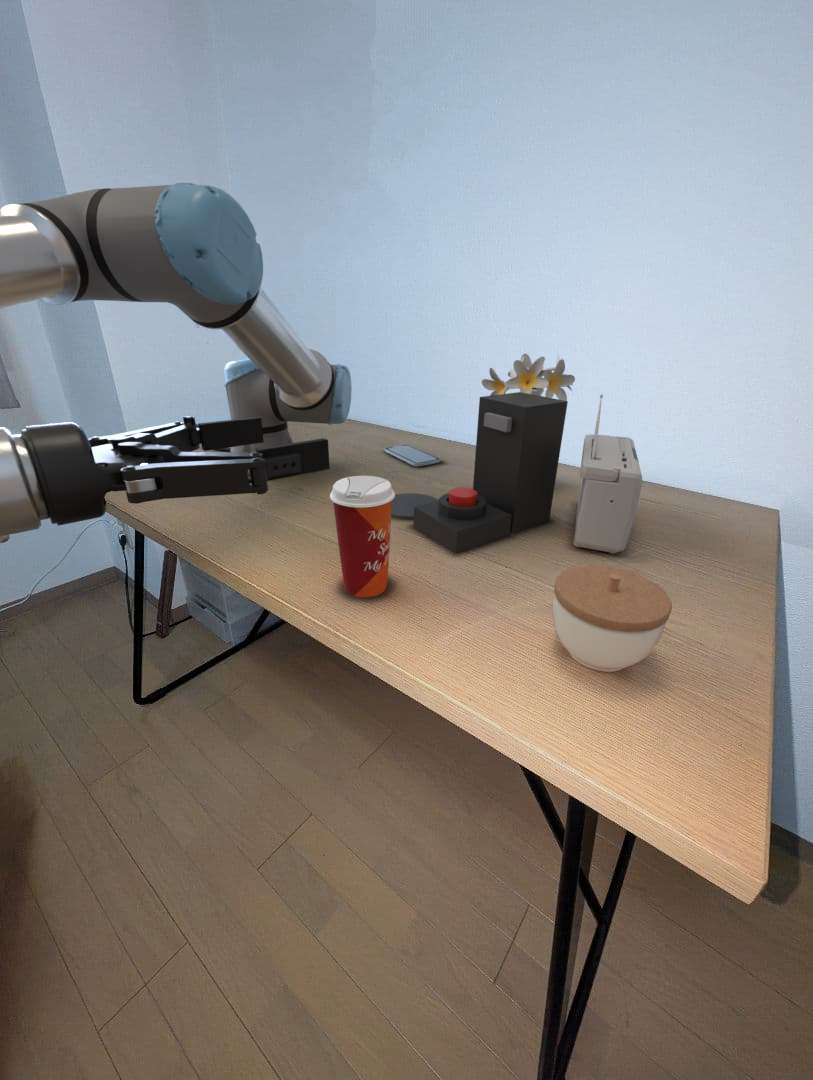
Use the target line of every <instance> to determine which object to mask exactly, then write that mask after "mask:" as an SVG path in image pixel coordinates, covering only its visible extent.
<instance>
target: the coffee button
mask: <svg viewBox="0 0 813 1080" xmlns="http://www.w3.org/2000/svg"><path fill="white" fill-rule="evenodd" d="M448 493H449V503H450V504H452V505H457V506H472V505H476V504H477V491H475V490H473V488H470V487H453V488H451V489H450V490H449V492H448Z"/></svg>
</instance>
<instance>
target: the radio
mask: <svg viewBox="0 0 813 1080" xmlns="http://www.w3.org/2000/svg"><path fill="white" fill-rule="evenodd" d="M599 398H600V400H599V405H598V411H597V416H596V421H595V429H594V434H591V433H589V434H585V436H584V439H583V445H582V453H581V463H580V469H579V473H580V474H579V475H580V478H581V484H580V490H579V496H578V501H577V509H576V510H577V511H576V519H575V528H574V536H573V546H574V547H576V548H584V549H588V550H595V551H600V552H607V553H609V554H612V555H613V554H617V553H618V552H623V551H624V550H625V549H626V548H627V544H628V541H629V539H630V535H631V531H632V528H633V525H634V521H635V516H636V513H637V509H638V506H639V501H640V496H641V490H642V485H643V475H642V470H641V466H640V463H639V462H640V461H639V458H638V454H637V450H636V446H635V443H634V439H632V438H631V437H627V436H615V435H614V436H613V435H608V434H607V435H604V434H599V428H600V419H601V410H602V399H603V398H604V394H603V393H602V394H600V395H599Z"/></svg>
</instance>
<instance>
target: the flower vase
mask: <svg viewBox="0 0 813 1080" xmlns="http://www.w3.org/2000/svg"><path fill="white" fill-rule="evenodd" d="M545 360H546V357H545V356H540V357H538V358H537V359H535V361H533V363H532V360H531V357H530V355H529V354H528V353H523V354H522V355H521V356H520V359H516V360H514V361H513V365H512V367H511V368H510V370H509V371H508V372H507V376H508V377H509V379H508V380H506V381H504V380H502V379H501V378H500V377H499V375H498V374H497V373H496V371H495V369H494V368H493V367H490V368H489V372H488V373H489V376H490V379H489V378H488V379H487V378H483V379H482V380H481V384H482V386H483V388H484V389H486V390H487V391H492V392H491V393H490V395H489V396H492V395H500V394H507V393H506V392H508V391H509V390H516V389H519V392H522V393H527V394H532V395H538V396H543V394H544V392H545V394H544V397H548V398H553V397H554V395H555V396H556V398H557V399H559V400H564V401H568V395H567V392H566V390H565V389H564V388H567V389H569V391H571V392H572V391H573V388H572V387H571V386H574V383H575V381H576V377H575V376H574V375H573V374H565V371H566V363H565V359H564V358H563V357H562V358H560V356H559V353H558V352H557V354H556V363H555V367H548V368H545V369H544V363H545ZM545 388H546V389H545Z"/></svg>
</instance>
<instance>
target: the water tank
mask: <svg viewBox="0 0 813 1080" xmlns="http://www.w3.org/2000/svg"><path fill="white" fill-rule="evenodd" d="M568 403H569V402H568V400H567V401H564V400H559V399H558V398H553V397H552V398H548V397H545V396H543V395H541V396H538V395H532V394H527V393H522V392H520V391H517V392H510V393H509V392H507V393H505V394H500V395H492V396H490V395H485V396H479V402H478V416H477V427H476V442H475V443H476V444H475V456H474V468H473V482H472V489H473V490H475V491H477V495H479V496H482V497H484V498H485V500H486V502H487V504H489V505H491V506H494V507H496V508H498V509H500V510H502V511H504V512H507V513H509V514H511V515H512V517H511V525H510V534H514V533H517V532H520V531H523V530H526V529H529V528H532V527H535V526H538V525H541V524H544V523H547V522H550V519H551V513H552V505H553V498H554V493H555V485H556V480H557V473H558V467H559V462H560V461H559V460H560V454H561V448H562V441H563V436H564V428H565V424H566V423H565V422H566V416H567V409H568Z"/></svg>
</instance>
